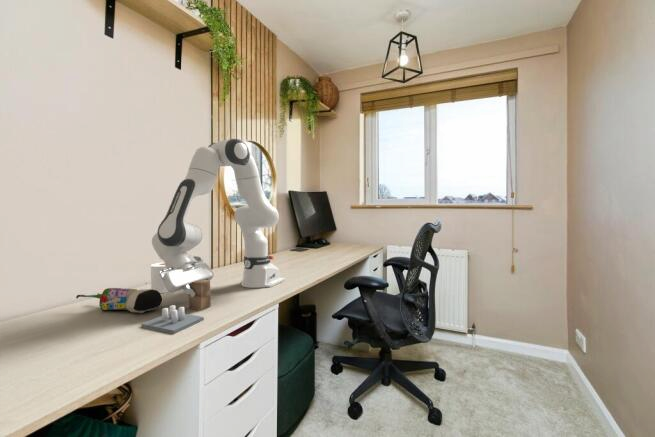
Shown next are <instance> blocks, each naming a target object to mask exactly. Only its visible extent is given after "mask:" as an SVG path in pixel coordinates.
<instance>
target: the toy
mask: <svg viewBox="0 0 655 437" xmlns="http://www.w3.org/2000/svg"><path fill="white" fill-rule="evenodd" d="M79 297H80V298H81V297H82V298H96V299H99V301H98V302H99V304H98V306H99V307H100V311H103V312H106V311H109V310H110V311H111V310H113V311H114V310H116V311H119V310H127V311H129V312H131V313H139V314H145V312H147V311H149V312H151V311H155V310H156V309H157V308H159V306H161V304H162V302H163V297H162V293H159V292H158V291H157V290H153V289H151V288H149V289H139V290H138V289H136V288H121V287H108V288H105V289H104V290H103V291H102V293H97V294H90V295H85V294H77V295H76V296H75V298H76V299H78V298H79Z"/></svg>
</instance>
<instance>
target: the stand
mask: <svg viewBox="0 0 655 437" xmlns="http://www.w3.org/2000/svg"><path fill="white" fill-rule="evenodd" d="M204 320H205V316H200V315H196V314H195V315H194V314H191V313H190V314H188V313H185V307H184V306H179V307H178V309H176V305H175V304H174V305H173V304H172V305H169V307H164V308H162V309H161V315H160V316H158V317H156V318H152V319H149V320H147V321H144V322H142V323H141V325H140V327H141V328H144V329H148V330H149V329H150V330H155V331H157V332H158V331H159V332H163V333H168V334H172V335H173V334H174V335H175V334H177V333H179V332H181V331H184V330H185V329H187V328H190V327H192V326H194V325H196V324H198V323H200V322H202V321H204Z"/></svg>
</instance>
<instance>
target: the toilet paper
mask: <svg viewBox="0 0 655 437" xmlns="http://www.w3.org/2000/svg"><path fill="white" fill-rule="evenodd" d="M164 269H167V267H166V266H165V263H164V261H163V262H155V263H152V264H151V265H150V287H151V288H150V289H153V290H157V291H158V292H159V293H160V294H166V293H167V294H168V293H170V292H169V291H168V290H167V289H166V287H165V285H164V283H163V280H162V278H161V277H160V275H159V274H160V272H161V270H164Z"/></svg>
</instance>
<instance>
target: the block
mask: <svg viewBox="0 0 655 437" xmlns="http://www.w3.org/2000/svg"><path fill="white" fill-rule="evenodd" d="M189 286H190V287H189V288H191V289H192V290H195V291H196V292H197V295H196V296H194V297H191V295H190V294H188V308H189V309H193V310H198V311H203V310H205V309H207V308H210V307H211V280H210V281H209V280H201V279H200V280H197V281H194V282H192V283H191V284H189Z"/></svg>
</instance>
